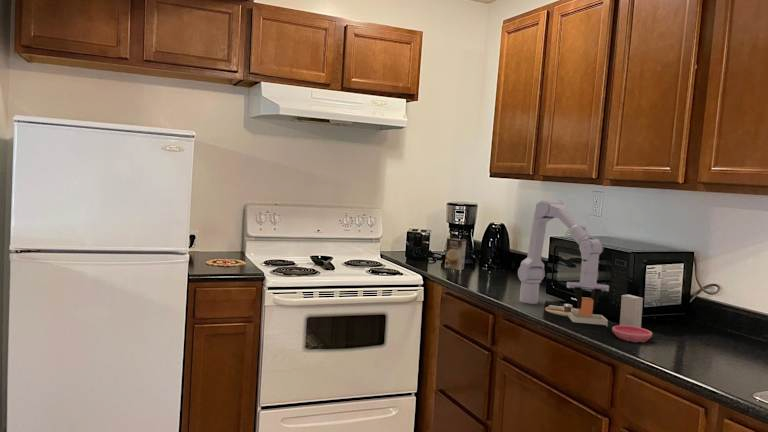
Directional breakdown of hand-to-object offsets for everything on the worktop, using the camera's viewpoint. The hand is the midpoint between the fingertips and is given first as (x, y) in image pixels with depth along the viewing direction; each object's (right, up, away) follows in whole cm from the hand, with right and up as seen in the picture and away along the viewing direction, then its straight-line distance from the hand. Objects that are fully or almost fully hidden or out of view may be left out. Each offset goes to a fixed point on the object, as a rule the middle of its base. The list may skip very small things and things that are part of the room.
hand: (585, 308), depth 215 cm
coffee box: (-36, +5, +104) cm, 110 cm away
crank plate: (-3, -4, +13) cm, 14 cm away
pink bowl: (+9, -8, -18) cm, 21 cm away
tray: (+1, -5, 0) cm, 5 cm away
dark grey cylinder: (-2, -3, +13) cm, 13 cm away
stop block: (0, -2, 0) cm, 2 cm away
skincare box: (+14, -7, -6) cm, 16 cm away
